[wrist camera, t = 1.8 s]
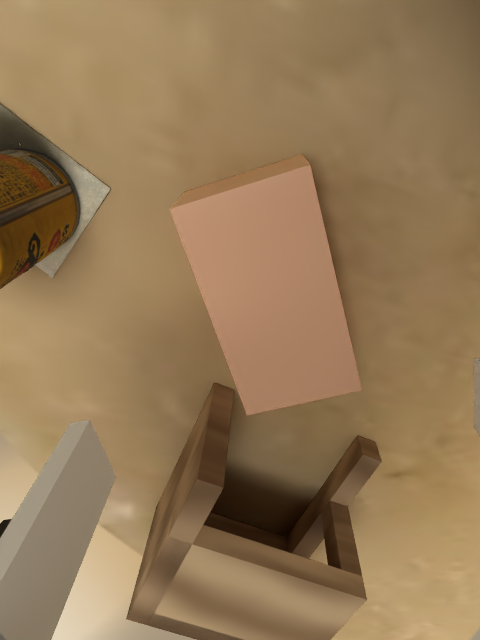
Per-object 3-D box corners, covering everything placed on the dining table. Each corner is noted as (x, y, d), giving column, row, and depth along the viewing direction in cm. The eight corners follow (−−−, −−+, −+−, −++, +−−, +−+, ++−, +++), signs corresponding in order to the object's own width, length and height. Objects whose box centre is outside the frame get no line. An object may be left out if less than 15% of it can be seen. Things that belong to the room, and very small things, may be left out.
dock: (214, 382, 31) (197, 479, 23) (375, 442, 33) (411, 551, 25) (156, 507, 37) (126, 619, 29) (294, 552, 39) (302, 670, 31)
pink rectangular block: (185, 190, 26) (169, 209, 21) (301, 153, 25) (310, 164, 20) (249, 370, 31) (246, 415, 27) (347, 347, 30) (362, 390, 25)
